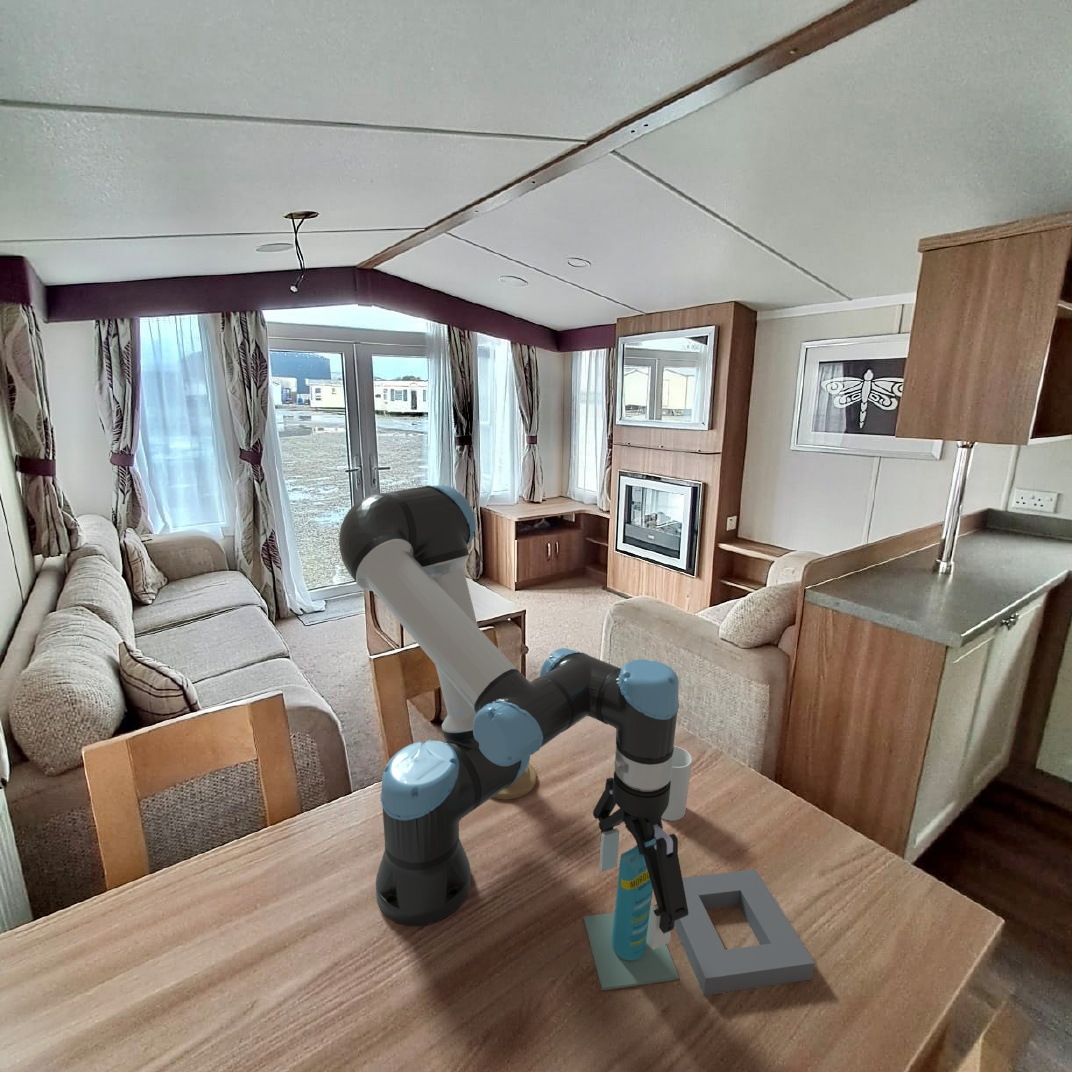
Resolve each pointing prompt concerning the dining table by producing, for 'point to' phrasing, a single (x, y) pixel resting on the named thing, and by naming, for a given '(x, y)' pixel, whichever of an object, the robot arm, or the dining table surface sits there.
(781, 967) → the socket board
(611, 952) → the coaster
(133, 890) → the dining table surface
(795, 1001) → the dining table surface
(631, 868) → the tube
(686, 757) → the mug
